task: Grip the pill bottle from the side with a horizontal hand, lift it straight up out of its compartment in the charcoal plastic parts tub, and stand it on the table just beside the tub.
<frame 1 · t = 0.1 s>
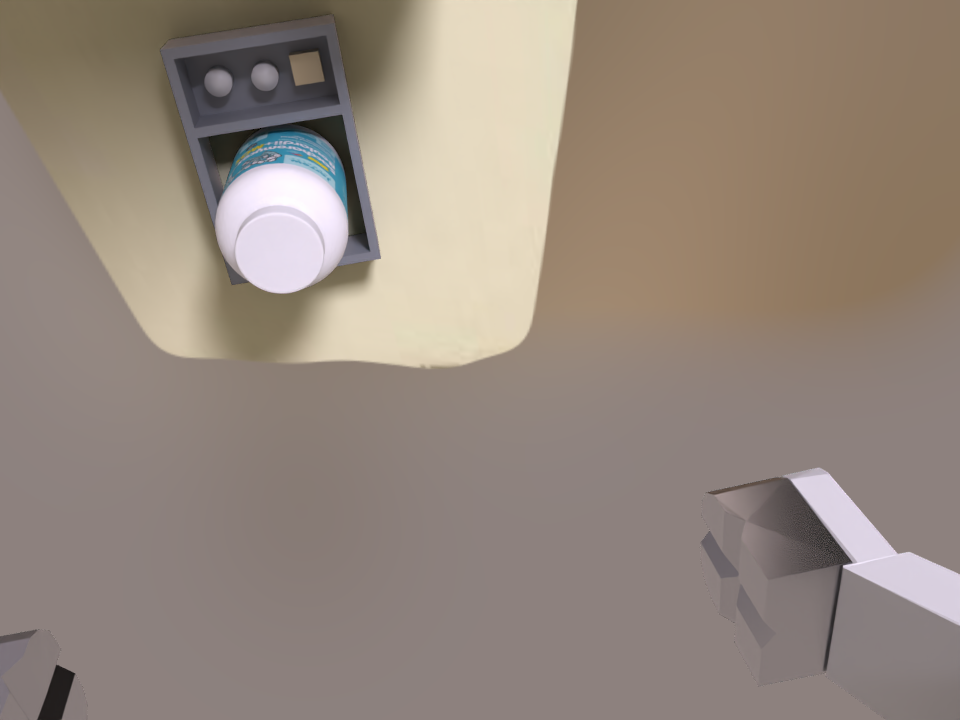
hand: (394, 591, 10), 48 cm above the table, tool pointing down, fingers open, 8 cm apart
parts tub: (281, 147, 55), on the table
pill bottle: (289, 175, 56), resting in parts tub
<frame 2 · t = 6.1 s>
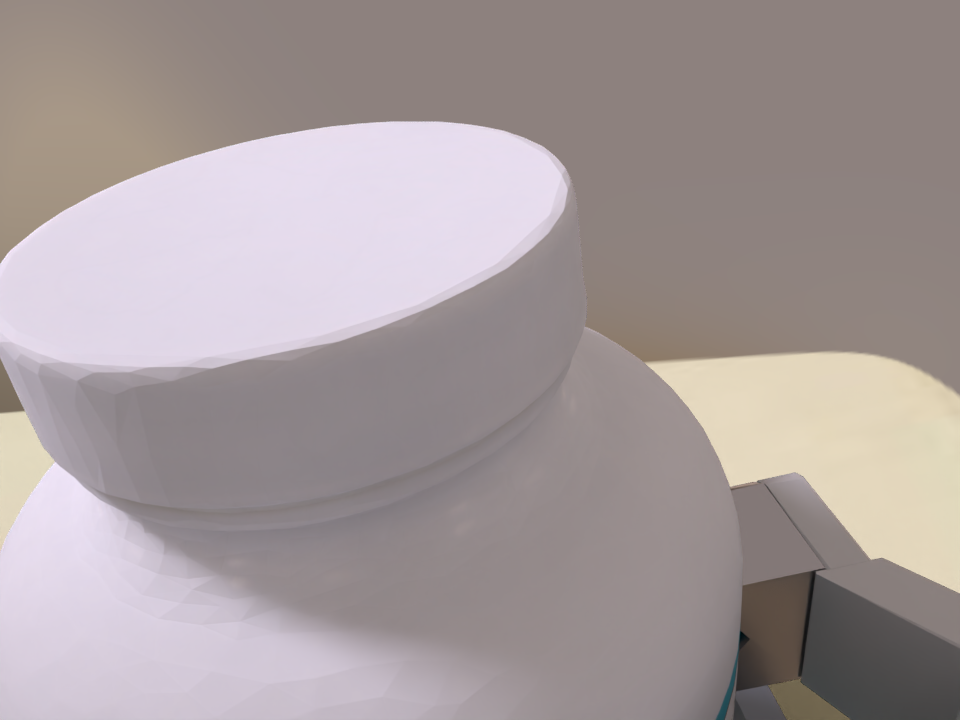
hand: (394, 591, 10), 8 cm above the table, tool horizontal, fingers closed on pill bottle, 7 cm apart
when the fingers open (9 cm above the table, at t = 12.2 s): pill bottle stays where it is, on the table.
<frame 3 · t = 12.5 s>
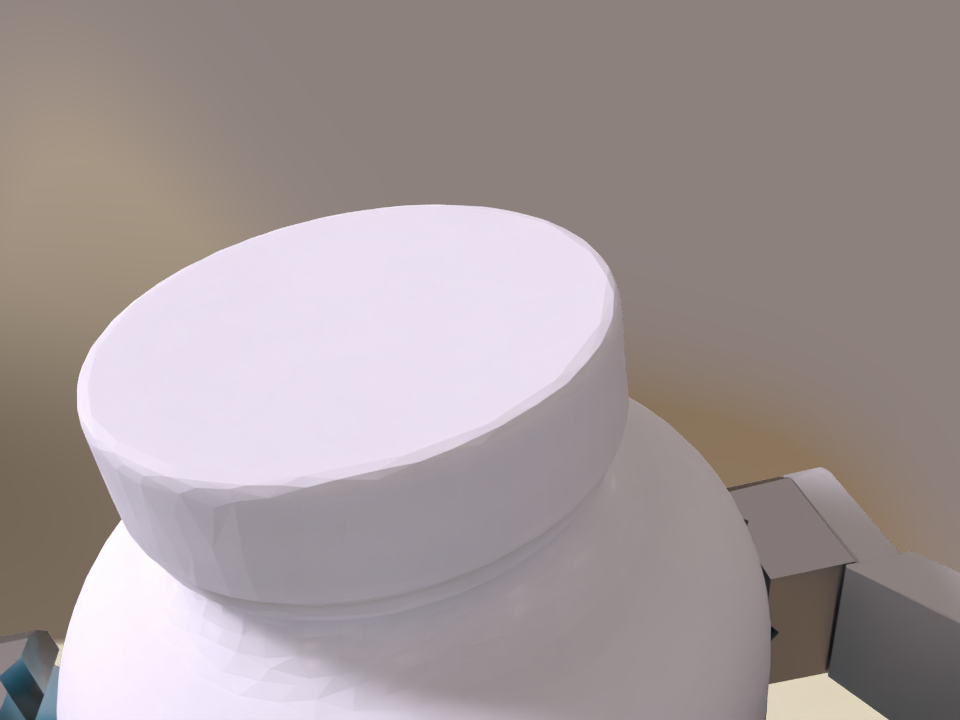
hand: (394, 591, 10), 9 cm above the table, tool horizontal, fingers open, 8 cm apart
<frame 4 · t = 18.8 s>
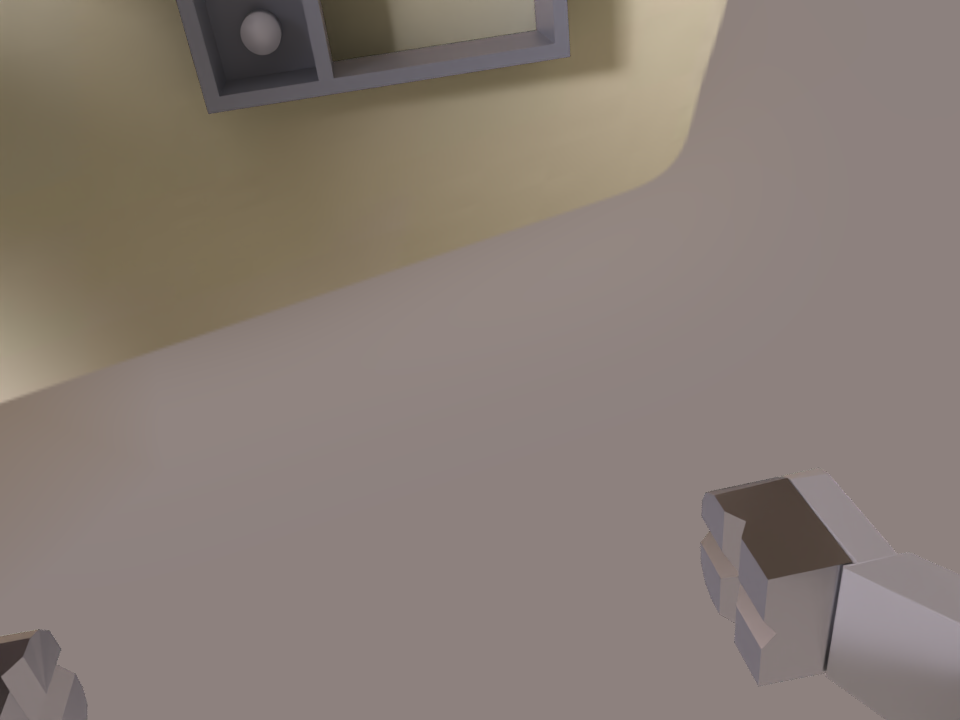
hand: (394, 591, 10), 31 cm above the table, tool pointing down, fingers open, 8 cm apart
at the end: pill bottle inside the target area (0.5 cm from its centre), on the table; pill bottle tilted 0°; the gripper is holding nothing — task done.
